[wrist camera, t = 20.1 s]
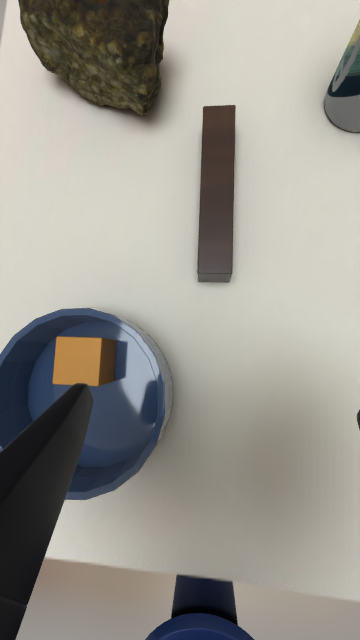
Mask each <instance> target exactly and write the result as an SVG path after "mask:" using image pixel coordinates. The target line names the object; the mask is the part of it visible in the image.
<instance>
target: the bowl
mask: <svg viewBox="0 0 360 640" xmlns="http://www.w3.org/2000/svg"><path fill="white" fill-rule="evenodd" d="M57 336H63V337H92V338H106V339H113V340H116V357H115V372H114V382H110V383H107V384H104V385H101V386H89V388H90V391H91V393H92V396H93V407H92V411H91V416H90V420H89V424H88V428H87V433H86V437H85V441H84V445H83V448H82V451H81V455H80V457H79V460H78V463H77V466H76V469H75V472H74V474H73V477H72V480H71V483H70V486H69V489H68V491H67V494H66V497H65V500H87V499H90V498H93V497H96V496H99V495H102V494H105V493H108V492H111V491H114V490H115V489H117V488H118V487H119V486H121V485H122V484H123V483H124V482H126V481H127V480H128V479H130V478H131V477H132V476H133V475H135V474H136V473H137V472H138V471H139V470H140V469H141V468H142V466H143V465H144V463H145V462H146V460H147V459H148V457H149V456H150V454H151V453H152V451H153V450H154V448H155V447H156V445H157V443H158V441H159V439H160V437H161V436H162V434H163V432H164V430H165V428H166V424H167V421H168V418H169V415H170V411H171V407H172V398H173V387H172V378H171V374H170V369H169V367H168V364H167V361H166V359H165V357H164V355H163V353H162V351H161V350H160V348H159V347H158V345H157V344H156V343H155V342H154V341H153V339H152V338H151V337H150V336H149V335H148V334H147V333H145V332H144V331H143V330H141V329H140V328H138V327H137V326H135V325H134V324H132V323H131V322H129V321H126V320H124V319H122V318H119V317H117V316H114V315H111V314H108V313H104V312H101V311H97V310H94V309H90V308H76V309H60V310H58V311H55V312H52V313H50V314H47V315H44V316H42V317H39V318H36V319H35V320H33V321H32V322H31V323H29V324H28V325H27V326H26V327H24V328H23V329H22V330H20V331H19V332H18V333H17V334H15V335H14V336H13V337H12V338H11V340H10V341H9V343H8V344H7V345H6V347H5V348H4V350H3V351H2V352H1V354H0V452H1V451H2V450H3V449H4V448H5V447H6V446H7V445H8V444H9V443H10V442H11V441H13V440H14V439H15V438H16V437H17V436H18V435H19V434H20V433H21V432H22V431H23V430H25V429H26V428H27V427H28V426H29V425H30V424H31V423H32V422H33V421H34V420H35V419H37V418H38V417H39V416H40V415H41V414H42V413H43V412H44V411H45V410H46V409H47V408H49V407H50V406H51V405H52V404H53V403H54V402H55V401H56V400H57V399H58V398H59V397H61V396H62V395H63V394H64V393H65V392H66V391H67V390H68V389H69V388H70V387H71V386H72V385H61V384H53V371H54V360H55V349H56V338H57Z"/></svg>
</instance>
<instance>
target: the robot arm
mask: <svg viewBox="0 0 360 640" xmlns="http://www.w3.org/2000/svg"><path fill="white" fill-rule="evenodd" d="M92 407H93V396H92V393H91V391H90V388H89V385H88V384H86V383H75V384H74V385H72V386H71V387H70V388H69V389H68V390H67V391H66V392H65V393H64V394H63V395H62V396H61V397H59V398H58V399H57V400H56V401H55V402H54V403H53V404H52V405H51V406H50V407H49V408H47V409H46V410H45V411H44V412H43V413H42V414H41V415H40V416H39V417H38V418H37V419H35V420H34V421H33V422H32V423H31V424H30V425H29V426H28V427H27V428H26V429H25V430H23V431H22V432H21V433H20V434H19V435H18V436H17V437H16V438H15V439H14V440H13V441H11V442H10V443H9V444H8V445H7V446H6V447H5V448H4V449H3V450H2V451H1V452H0V640H15V639H16V636H17V634H18V631H19V628H20V625H21V622H22V619H23V616H24V614H25V611H26V608H27V606H26V605H27V604H28V602H29V599H30V596H31V593H32V591H33V588H34V584H35V582H36V579H37V576H38V574H39V571H40V568H41V565H42V562H43V559H44V557H45V554H46V551H47V548H48V545H49V542H50V540H51V537H52V534H53V531H54V528H55V525H56V523H57V520H58V517H59V514H60V511H61V508H62V506H63V503H64V500H65V497H66V494H67V491H68V489H69V486H70V483H71V480H72V477H73V474H74V472H75V469H76V466H77V463H78V460H79V457H80V455H81V451H82V448H83V445H84V441H85V437H86V433H87V428H88V424H89V420H90V416H91V411H92ZM357 421H358V425H359V429H360V410H359V412H358V414H357Z"/></svg>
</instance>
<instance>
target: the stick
mask: <svg viewBox="0 0 360 640" xmlns="http://www.w3.org/2000/svg"><path fill="white" fill-rule="evenodd" d="M235 108H236V106H235V105H225V106H204V107H203V129H202V157H201V185H200V214H199V242H198V270H197V273H198V281H199V282H229V281H230V278H231V275H232V255H233V206H234V157H235Z"/></svg>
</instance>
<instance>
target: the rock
mask: <svg viewBox="0 0 360 640" xmlns="http://www.w3.org/2000/svg"><path fill="white" fill-rule="evenodd" d="M18 1H19V7H20V20H21V24H22V27H23V29H24V31H25V32H26V34H27V37H28V40H29V42H30V44H31V47H32V49H33V50H34V52H35V54H36V55H37V56H38V58H39V59H40V61H41V63H42V65H43V66H44V67H45V68H46V69H47V70H48V71H50V72H53V73H55V74H57V75H60V76H61V77H62V79H63V80H64V81H66V82H67V83H68V84H69V85H70V86H71V87H73V88H74V89H75V90H76V91H77V92H78V93H79V94H81V95H82V96H83V97H84V98H85V99H88V100H92V101H94V102H95V103H96V104H97V105H98V104H100V105H105V104H107V105H110V106H113V107H115V108H118V109H122V108H124V109H128V108H131V109H132V110H133V111H135V112H136V113H138V114H139V115H144V114H145V113H147V112H148V111H149V109H150V106H151V103H152V102H153V101H154V100H155V98H156V96H157V94H158V92H159V88H160V85H161V78H160V75H159V63H160V62H161V61H162V59H163V49H164V43H163V31H164V26H165V24H166V21H167V18H168V5H169V0H18Z"/></svg>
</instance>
